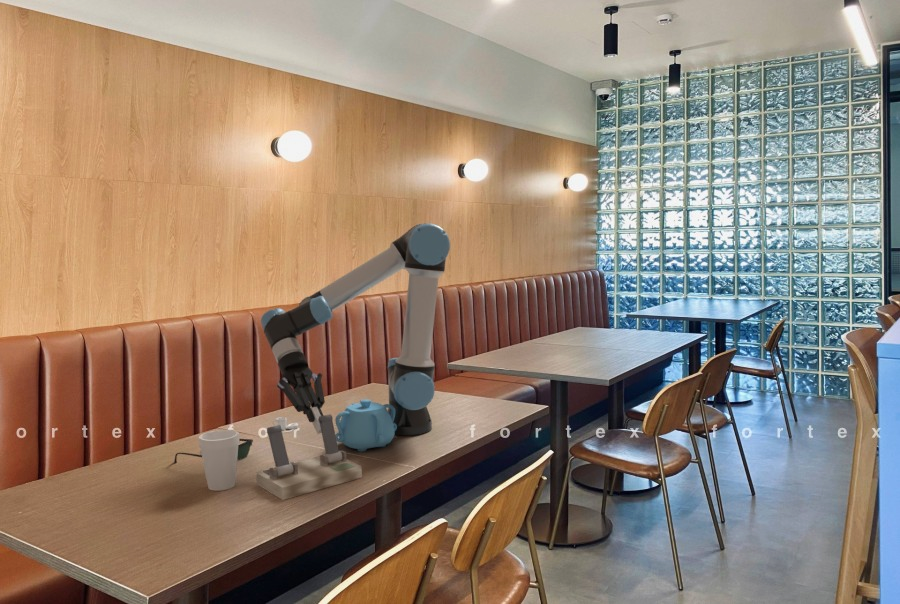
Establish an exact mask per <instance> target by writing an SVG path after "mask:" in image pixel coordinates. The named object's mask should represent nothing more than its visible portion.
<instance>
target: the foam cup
mask: <svg viewBox="0 0 900 604" xmlns="http://www.w3.org/2000/svg"><path fill="white" fill-rule="evenodd" d="M239 439H240V432H239V431H237V430H236V429H235V430H234V429H217V430H212V431H210V430H209V431H207V432H204V433H201V434H200V435H199V436H198V446H199V449H200V455H202V457H201V459H202V464H203V468H204V469H203V470H204V473H205V479H206V483H207V487H208V490H211V491H217V492H218V491H225V490H226V491H227V490H228V489H232V488H233V487H235V485H236V478H237V477H236V476H237V466H238V460H237V456H238V445H240V441H239Z"/></svg>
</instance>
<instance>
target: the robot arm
mask: <svg viewBox="0 0 900 604" xmlns="http://www.w3.org/2000/svg"><path fill="white" fill-rule="evenodd" d="M450 249H451V242H450V238H449V235H448V233H447V232H446V230H444V228H442V227H441V226H439V225H437V224H435V223H430V222H426V223H425V222H424V223H420V224H416V225H414V226H412V227H411V228H409V229H408V230H406V232H405V233H403V234H402V235H401V236H399V238H397V239H395V240H394V241H392V242H390V246H389V247H388V248H387V249H386V250H383V251H381V252H380V253H379V254H377V255H375V256H374V257H372V258H370V259H368V260H367V261H366V262H364V263H362V264H361V265H359V266H357V267H356V268H354V269H353V270H351V271H349V272H347V273H346V274H344V275H343V276H341V277H339V278H338V279H336V280H333V282H331V283H329V284H328V285H327V286H325V287H323V288H320V289H319V290H318V291H316V292H315V293H312V295H311V294H310V296H307V297H304V298H303V299H302V300H301V301H300V302H299V304H298V306H296V307H293V308H292V309H291V310H288V311H285V310H284V309H283V308H279V307H277V308H274V309H269V310H267V311H266V312H264V313H263V314H262V316H261V318H260V324H261V326H262V329H263V333H264V335H265V337H266V339H267V343H268V344H269V347H270V349H271V351H272V354H273V356H274V359H275V362H276V363H277V366H278V369H279V370H280V373H281V375H282V378H281V379H279V380H278V382H277V385H276V386H277V387H276V388H279V389H280V391H282V392H283V394H284V395H285V396H286V397H287V399H288V400H289V402H290V404H291V405H292V406H293V408H294V409H295V410H296V412H298V413H301V412H302V414H303V415H305V416H306V418H307V419H308V422H309V423H312V425H313V427H314V429H315V432H316V435H317V434H319V435H320V434H322V432H321V427H320V423H319V417H320V416H324V415H325V414H323V411H322V407H323V406H324V405H325V403H326V400H325V396H324V389H323V385H322V384H323V383H322V377H323V374H322V373H320V372H319V373H314V372H313V370H312V369H311V368H310V367H309V364H308V361H307V358H306V357H305V353H304V352H303V349H302V347H301V345H300V342H299V340H298V338H297V337H299V336H300V335H302V334H304V333H306V332H308V331H310V330H313V329H315V328H317V327H319V326H321V325H324V324H325V323H327V322H328V321H330V320H332V319H333V317H334V314H333V312H334V311H335V310H337V309H339V308H340V307H342V306H343V305H345V304H347V303H348V302H351V301H352V300H354V299H355V298H357V297H358V296H360V295H362V294H363V293H365V292H367V291H369V290H370V289H372V288H374V287H375V286H376V285H378V284H380V283H381V282H384V281H385V280H387V279H388V278H389V277H391V276H393V275H395V274H397V273H398V272H400V271H401V270H406V271H407V273H408V276H409V277H408V284H407V293H406V304H405V314H404V321H403V322H404V323H403V324H404V326H403V332H402V333H403V334H402V343H401V353H400V355H399V356H398V357H393V358H389V359H388V362H387V373H388V374H387V376H388V383H387V385H388V404H389V405H392V406H393V407H394V408H395V417H394V421H393V423H395V424H396V425H397V429H396V430H395V434H394V436H416V435H422V434H425V433H428V432H430V431H431V430H432V429H433V426H432V425H433V422H432V418H431V415H430V413H429V410H428V407H427V406H428V405H429V404H430V403H431V402H432V400H433V399H434V396H435V390H436V388H435V383H434V375H435V374H434V372H435V364H436V363H435V362H434V361H433V360H432V358H431V354H432V353H431V352H432V343H433V342H432V341H433V333H434V325H435V324H434V323H435V316H436V315H435V314H436V306H437V305H436V304H437V296H438V287H439V278H440V276H441V275H443V274H444V273H445V271H446V269H445V268H446V261H447V257H448V255H449V253H450ZM311 379H312V381H311ZM312 383H313V386H314V388H313V386H312ZM387 411H388V413H389V415H391V409H390V408H387Z"/></svg>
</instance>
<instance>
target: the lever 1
mask: <svg viewBox="0 0 900 604" xmlns="http://www.w3.org/2000/svg"><path fill="white" fill-rule="evenodd" d="M282 432H283V431H282V428H281V426H280V425H278V426H277V425H275V426H274V425H273V426H270V427H267V428H266V433H267V436H268V440H269V443H270V444H269V445H270V449H271V452H272V457H273V461H274V467H273V468H274V469H276V470H277V477H278V476H282V475H286V474H290V473H293V465H292V464H291V463H292V462H290V460H289V456H288V452H287V448H286V444H285V440H284V437H283V433H282Z"/></svg>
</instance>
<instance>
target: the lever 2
mask: <svg viewBox="0 0 900 604" xmlns="http://www.w3.org/2000/svg"><path fill="white" fill-rule="evenodd" d="M323 415H324V416H320V417H319V423H320V427H321V432H322V433H321V436H322V441H323V446H324V452H325V454H324V456H326V457H327V458H328V463H332V462H336V461H340V460H342V453H341V452H340V450H339V445H338V442H337V440H336V436H335V435H336V431H335V427H334V426H335V425H334V423H333V421H334V420H333V418H334V417H333V415H332V414H331V413H330V414H323Z"/></svg>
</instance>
